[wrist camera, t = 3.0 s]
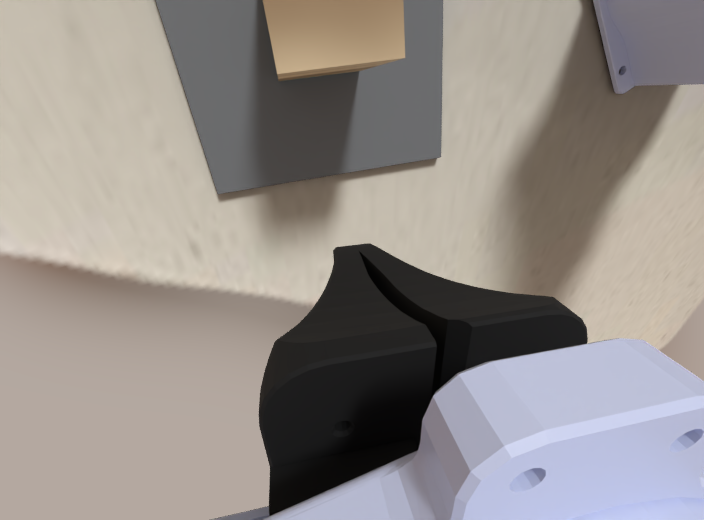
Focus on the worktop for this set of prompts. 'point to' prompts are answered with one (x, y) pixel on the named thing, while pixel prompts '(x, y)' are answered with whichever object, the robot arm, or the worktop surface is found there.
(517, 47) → the worktop surface
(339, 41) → the oak block
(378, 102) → the mat
